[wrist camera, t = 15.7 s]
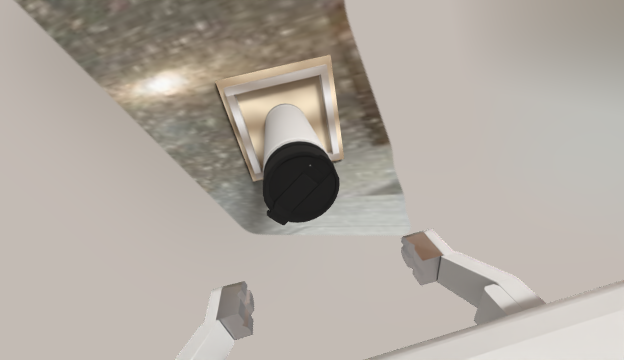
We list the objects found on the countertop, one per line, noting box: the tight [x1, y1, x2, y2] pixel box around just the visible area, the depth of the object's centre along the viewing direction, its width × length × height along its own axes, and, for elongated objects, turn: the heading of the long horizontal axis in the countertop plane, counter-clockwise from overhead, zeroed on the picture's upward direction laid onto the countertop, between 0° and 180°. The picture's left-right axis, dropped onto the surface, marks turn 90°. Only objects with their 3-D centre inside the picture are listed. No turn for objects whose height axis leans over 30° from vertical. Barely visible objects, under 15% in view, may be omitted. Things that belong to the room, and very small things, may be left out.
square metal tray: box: [215, 55, 344, 182], centre depth 34 cm, size 16×16×2 cm
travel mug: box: [263, 103, 340, 225], centre depth 26 cm, size 6×7×20 cm
